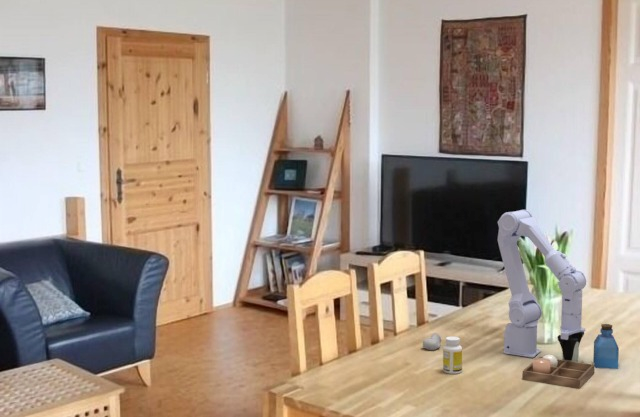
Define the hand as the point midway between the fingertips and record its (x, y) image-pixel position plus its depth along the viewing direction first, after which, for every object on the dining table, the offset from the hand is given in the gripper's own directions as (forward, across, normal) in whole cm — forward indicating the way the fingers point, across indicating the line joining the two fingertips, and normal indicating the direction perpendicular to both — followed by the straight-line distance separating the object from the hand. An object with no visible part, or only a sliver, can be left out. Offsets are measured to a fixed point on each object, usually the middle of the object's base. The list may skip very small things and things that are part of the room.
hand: (570, 357), depth 254 cm
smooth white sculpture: (+2, -5, +42) cm, 42 cm away
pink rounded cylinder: (+2, -17, +3) cm, 18 cm away
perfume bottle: (+2, +4, -9) cm, 10 cm away
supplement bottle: (+2, -24, +27) cm, 37 cm away
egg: (+2, -10, +3) cm, 10 cm away
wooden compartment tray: (+2, -14, 0) cm, 14 cm away
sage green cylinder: (+2, 0, 0) cm, 2 cm away
